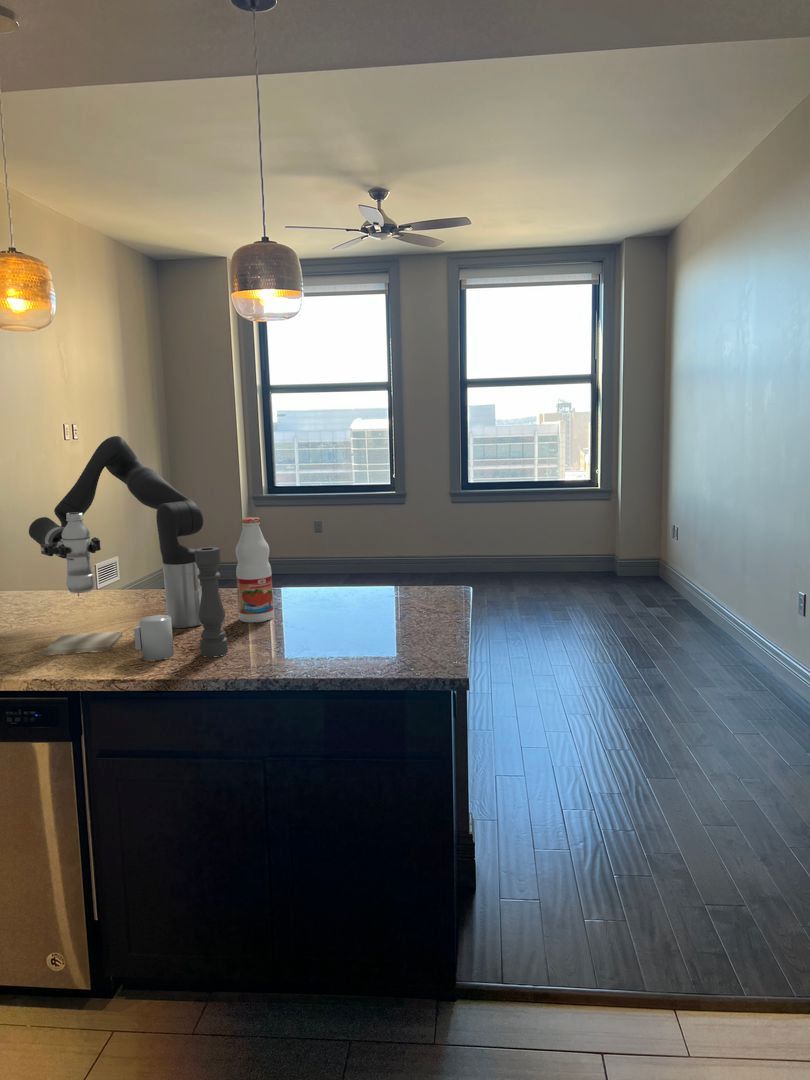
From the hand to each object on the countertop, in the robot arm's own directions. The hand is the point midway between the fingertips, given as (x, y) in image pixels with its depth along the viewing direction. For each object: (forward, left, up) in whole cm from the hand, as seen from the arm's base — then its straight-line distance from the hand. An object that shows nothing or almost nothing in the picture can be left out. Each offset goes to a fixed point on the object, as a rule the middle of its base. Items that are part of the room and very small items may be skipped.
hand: (79, 550), depth 183 cm
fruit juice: (-40, -15, -24) cm, 49 cm away
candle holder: (-32, +15, -24) cm, 43 cm away
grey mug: (-19, +14, -24) cm, 34 cm away
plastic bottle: (+1, -2, -11) cm, 11 cm away
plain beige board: (+1, +1, -24) cm, 24 cm away
